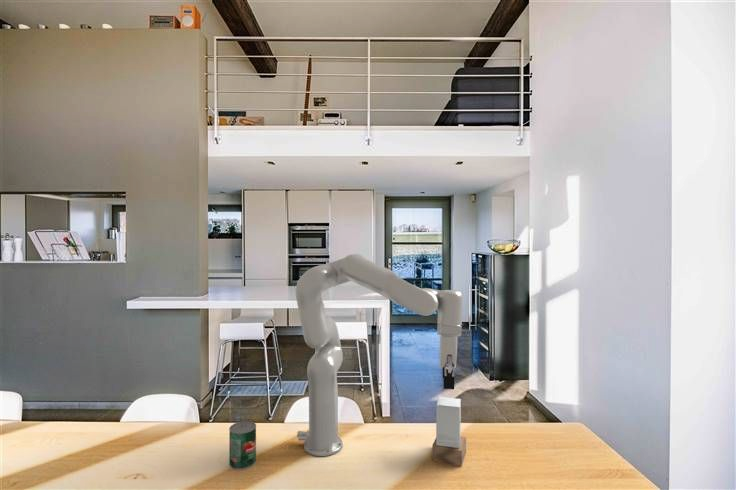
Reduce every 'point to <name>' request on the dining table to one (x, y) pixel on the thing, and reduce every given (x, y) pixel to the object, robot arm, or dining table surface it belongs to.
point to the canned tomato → (242, 445)
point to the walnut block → (449, 453)
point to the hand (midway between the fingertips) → (448, 383)
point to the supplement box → (448, 422)
